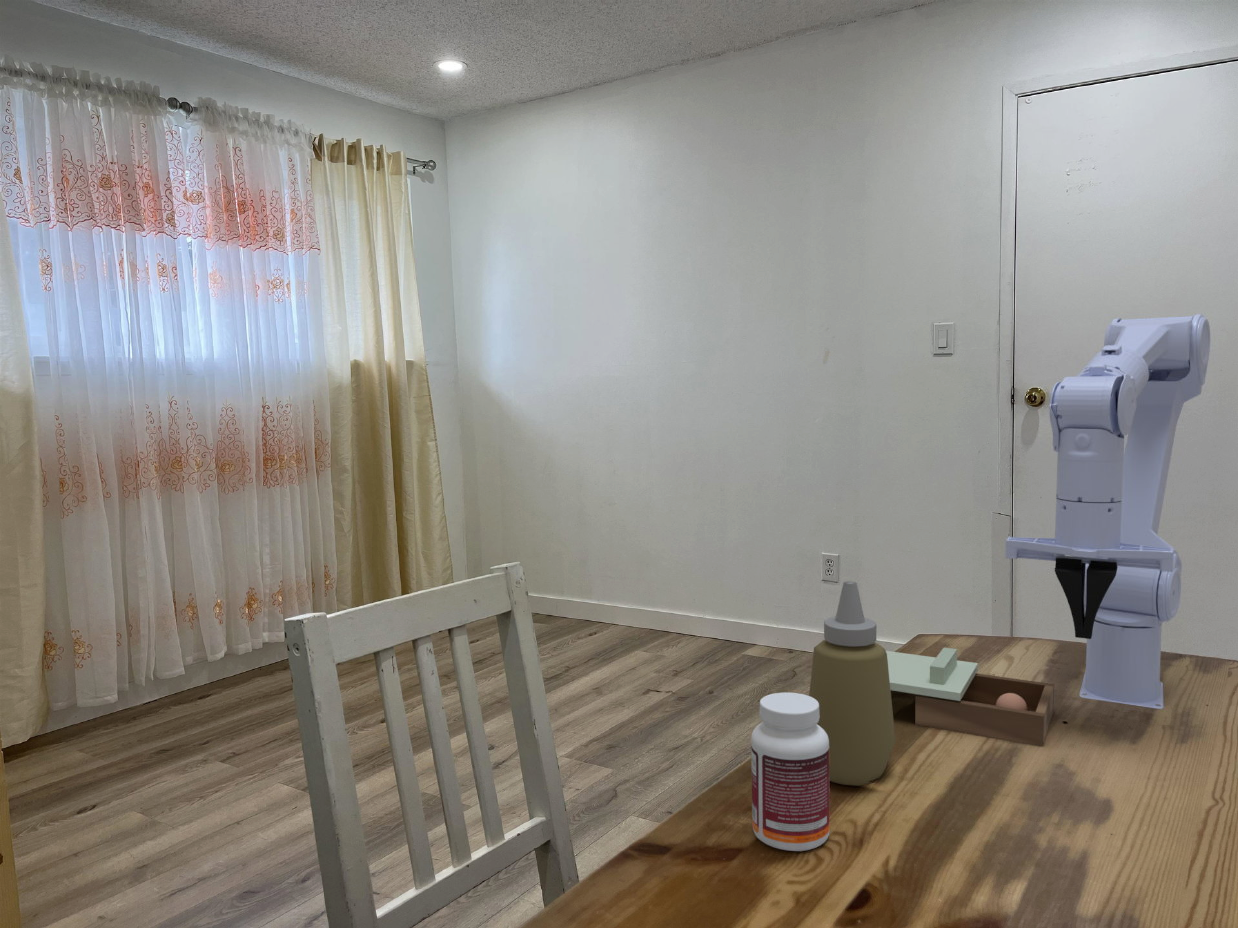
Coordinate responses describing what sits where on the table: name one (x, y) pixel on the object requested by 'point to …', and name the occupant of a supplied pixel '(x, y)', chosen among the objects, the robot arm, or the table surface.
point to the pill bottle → (790, 774)
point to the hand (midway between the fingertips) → (1083, 635)
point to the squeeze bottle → (853, 693)
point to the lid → (931, 674)
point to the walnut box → (992, 710)
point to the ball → (1011, 701)
